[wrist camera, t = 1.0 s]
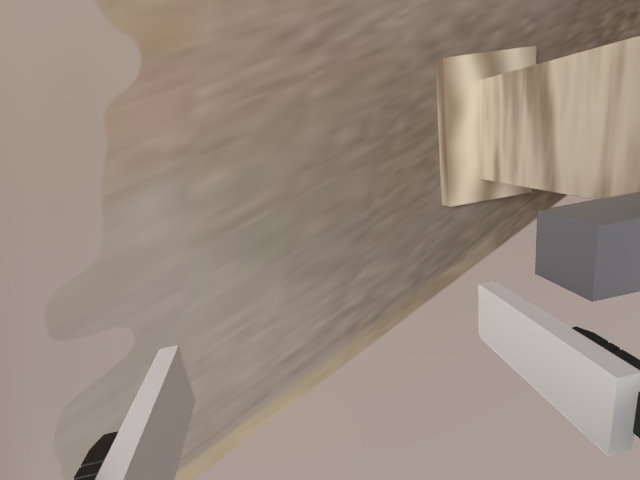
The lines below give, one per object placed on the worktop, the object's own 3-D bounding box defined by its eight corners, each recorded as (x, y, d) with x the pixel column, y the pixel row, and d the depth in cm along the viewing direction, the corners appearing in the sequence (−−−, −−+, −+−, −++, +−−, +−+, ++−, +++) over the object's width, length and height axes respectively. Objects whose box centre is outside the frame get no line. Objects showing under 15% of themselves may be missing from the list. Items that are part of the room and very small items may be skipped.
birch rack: (441, 204, 49) (670, 287, 22) (435, 61, 44) (725, -72, 16) (525, 189, 50) (842, 249, 23) (528, 49, 45) (942, -93, 18)
